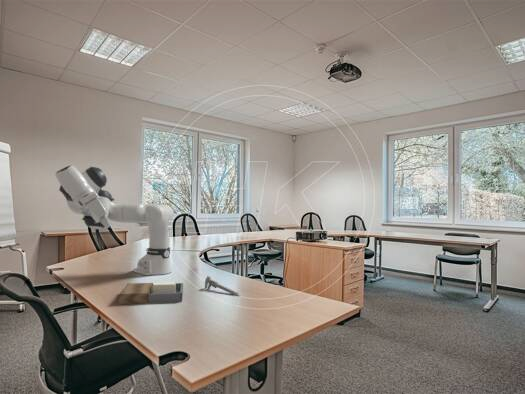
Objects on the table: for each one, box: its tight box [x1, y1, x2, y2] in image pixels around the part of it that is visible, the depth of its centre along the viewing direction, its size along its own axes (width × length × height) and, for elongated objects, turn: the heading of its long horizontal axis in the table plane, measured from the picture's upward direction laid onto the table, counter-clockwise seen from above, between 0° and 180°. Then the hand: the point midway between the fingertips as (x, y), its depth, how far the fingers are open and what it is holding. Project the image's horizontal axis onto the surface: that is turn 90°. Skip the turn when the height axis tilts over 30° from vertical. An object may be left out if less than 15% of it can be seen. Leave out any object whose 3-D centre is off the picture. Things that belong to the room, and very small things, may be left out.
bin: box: [148, 282, 184, 304], centre depth 138 cm, size 13×16×4 cm
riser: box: [118, 282, 154, 305], centre depth 135 cm, size 11×16×4 cm
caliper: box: [204, 275, 241, 297], centre depth 147 cm, size 20×1×6 cm, turn 58°
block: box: [153, 281, 177, 294], centre depth 137 cm, size 5×5×9 cm
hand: (108, 227), depth 133 cm, fingers closed
